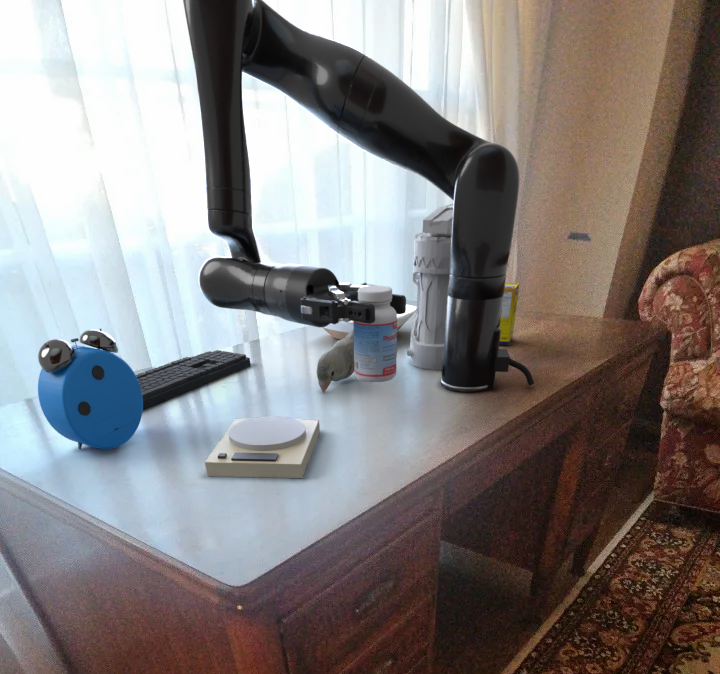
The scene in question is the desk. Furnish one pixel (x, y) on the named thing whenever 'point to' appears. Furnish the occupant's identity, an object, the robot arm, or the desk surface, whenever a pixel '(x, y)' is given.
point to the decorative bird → (337, 362)
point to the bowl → (344, 328)
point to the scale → (264, 448)
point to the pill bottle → (376, 337)
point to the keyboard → (188, 375)
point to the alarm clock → (89, 391)
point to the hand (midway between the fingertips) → (389, 309)
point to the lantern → (431, 288)
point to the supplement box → (508, 312)
